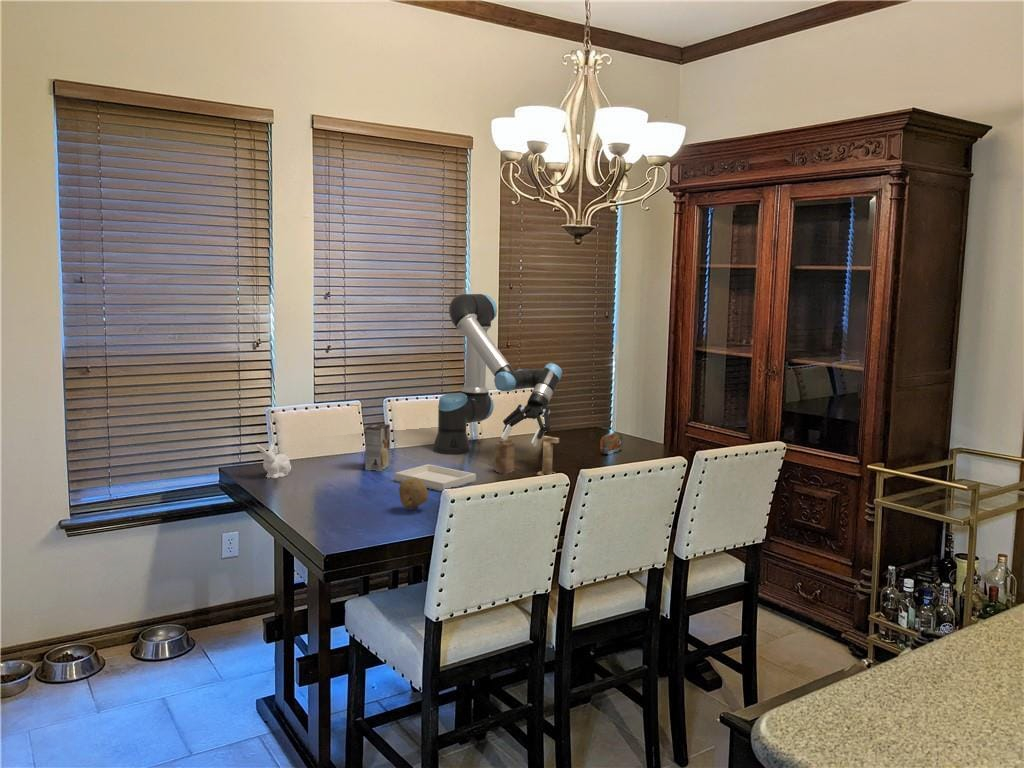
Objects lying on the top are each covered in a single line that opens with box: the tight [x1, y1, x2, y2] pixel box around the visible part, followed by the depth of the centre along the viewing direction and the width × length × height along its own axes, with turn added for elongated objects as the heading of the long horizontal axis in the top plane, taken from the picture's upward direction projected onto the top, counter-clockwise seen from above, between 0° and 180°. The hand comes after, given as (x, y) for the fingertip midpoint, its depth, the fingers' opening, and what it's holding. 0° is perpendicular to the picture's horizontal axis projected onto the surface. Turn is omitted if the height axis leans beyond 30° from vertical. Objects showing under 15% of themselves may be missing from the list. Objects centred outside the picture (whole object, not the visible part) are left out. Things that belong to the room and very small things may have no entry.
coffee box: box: [364, 423, 391, 472], centre depth 303 cm, size 9×6×16 cm
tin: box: [599, 432, 623, 453], centre depth 344 cm, size 15×3×8 cm, turn 143°
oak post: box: [537, 435, 560, 475], centre depth 300 cm, size 8×7×15 cm
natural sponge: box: [398, 478, 429, 511], centre depth 252 cm, size 9×9×10 cm
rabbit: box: [256, 441, 292, 479], centre depth 288 cm, size 12×9×12 cm
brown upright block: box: [494, 438, 516, 473], centre depth 304 cm, size 5×5×12 cm
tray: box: [394, 463, 477, 493], centre depth 287 cm, size 22×18×3 cm
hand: (517, 442), depth 306 cm, fingers open, 13 cm apart
